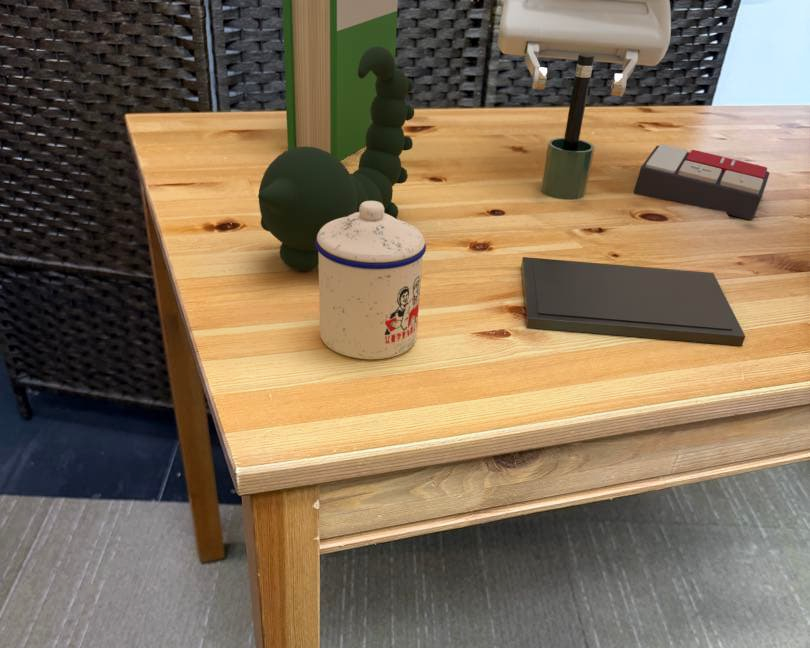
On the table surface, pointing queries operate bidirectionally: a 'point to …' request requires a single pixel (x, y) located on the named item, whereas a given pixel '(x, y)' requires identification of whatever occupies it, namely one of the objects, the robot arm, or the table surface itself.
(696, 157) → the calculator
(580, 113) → the stylus
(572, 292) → the tablet
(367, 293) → the teacup with lid
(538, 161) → the table surface
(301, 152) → the toy figurine
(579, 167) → the pen cup
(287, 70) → the hardback book
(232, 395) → the table surface
